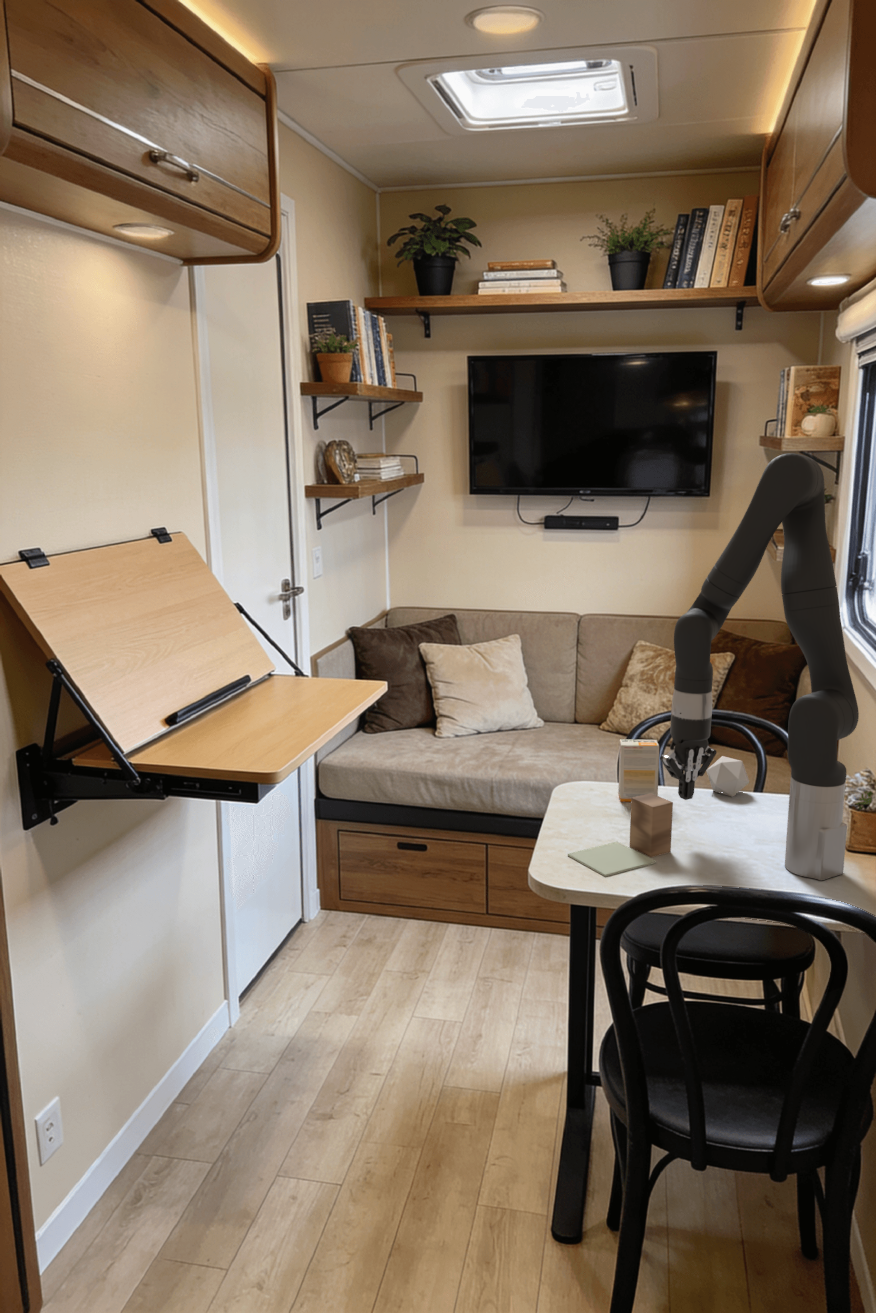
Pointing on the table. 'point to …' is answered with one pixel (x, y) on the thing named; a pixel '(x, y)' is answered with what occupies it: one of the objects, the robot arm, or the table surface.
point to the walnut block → (651, 824)
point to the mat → (611, 858)
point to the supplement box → (638, 768)
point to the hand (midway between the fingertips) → (685, 797)
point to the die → (727, 776)
